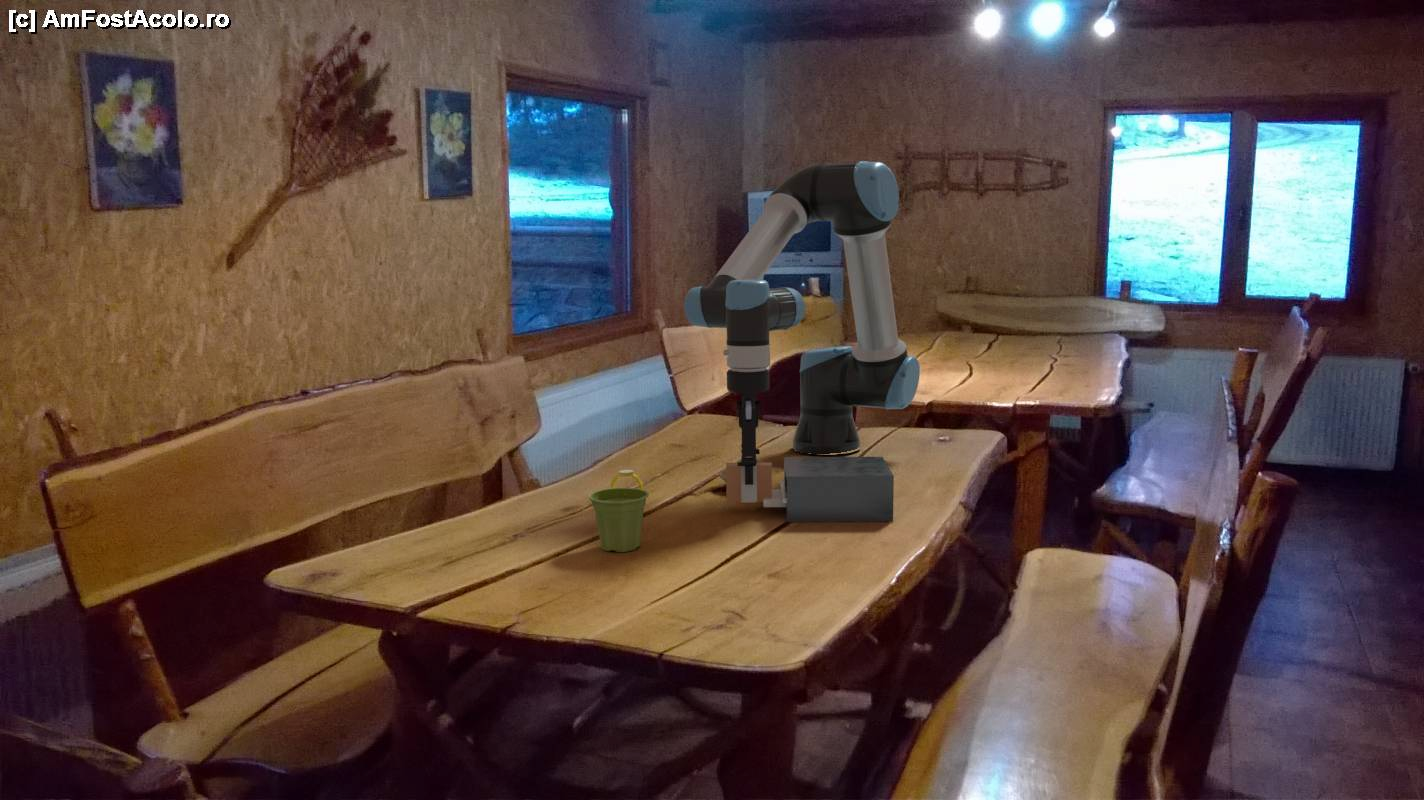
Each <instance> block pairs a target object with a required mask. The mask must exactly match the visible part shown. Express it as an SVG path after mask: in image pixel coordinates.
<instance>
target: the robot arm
mask: <svg viewBox="0 0 1424 800" xmlns="http://www.w3.org/2000/svg"><path fill="white" fill-rule="evenodd" d="M899 202H900V192H899V186H898V183H897V180H896V177H895V175H894V173H893V171H892V170H891V169H890V168H889V167H888V166H887V165H886V164H884V163H883V162H879V161H867V160H861V161H848V162H833V163H815V164H811V165H807V166H806V167H803V168H801V169H799V170H797V171H796V172H794V173H793V174H791V175H790V176H788V177H787V178H785V179H784V180H783V181H782V182H781V183H780V184H779V185H778V186H777V187H775V189H774V190H772V192H771V193H770V195H769V196H768V197H767V198H766V200H765V201H764V203H763V212H762V214H760V216H759V217H758V219H756V221H755V223H754V224H753V225H752V227H751V228H750V229H749V231H747V233H746V235H745V236H744V237H743V239H742V240H741V241H740V242H739V244H738V245H737V246H736V248H735V249H734V251H733V252H732V254H730V256H729V257H728V259H727V260H726V262H724V264H723V265H722V266H721V268H720V270H718V272H717V274H716V275H715V276H714V277H713V279H712V280H711V281H710V283H709V284H708V285H707V286H704V285H700V286H694V287H693V288H692V287H691V289H689V290H688V292H686V295H685V298H684V303H683V305H684V306H683V309H684V314H685V317H686V319H687V321H688V322H689V323H690V324H691V325H693V326H695V327H701V328H702V327H704V328H709V329H712V328H713V329H715V328H716V329H717V328H718V329H721V328H722V329H726V348H727V349H723V351H722V354H723V356H727V357H726V366H727V367H728V368H729V369H728V370H727V371H726V390H727V391H728V392H730V393H733V394H741V397H740V400H737V403H736V405H737V406H736V409H737V410H736V411H737V413H738V428H740V429H741V445H740V447H741V450H740V452H741V458H740V461H741V462H740V461H737V463H738V466H741V502H740V503H758V502H757V465H756V464H757V463H758V459H757V455H760V453H761V452H760V448H757V442H756V441H757V435H756V434H757V433H756V432H757V428H758V427H759V413H760V412H761V411H760V410H761V409H760V405H761V404H760V400H759V399H758V400H757V398H756V396H755V395H756V394H757V393H766V392H768V391H769V390H770V389H771V388H770V387H771V384H770V383H771V379H770V378H771V375H770V371H769V369H767V368H768V367H769V366H771V347H770V346H771V344H770V332H774V331H778V330H779V331H781V330H783V331H786V330H788V329H791V328H794V327H796V326H797V325H799V324H800V323H801V322H802V320H803V319H804V316H805V314H806V303H805V300H804V297H803V296H802V294H801V293H800V292H799V291H798V290H796V289H794V288H792V287H785V286H784V287H782V286H781V287H780V286H779V287H776V288H775V287H774V288H773V287H772V288H771V287H770V285H769V282H768V281H767V280H765V279H763V277H764V276H765V275H766V273H767V272H768V271H769V269H770V268H771V266H772V265H773V264H774V262H775V261H776V259H777V258H778V257H779V255H780V254H781V253H782V251H783V249H784V248H785V247H786V245H788V243H789V241H790V240H791V238H792V237H793V235H795V234H799V233H800V232H802V231H803V230H804V229H805V227H806V226H807V225H808V224H810V223H813V222H832V225H833V230H834V231H833V232H834V234H835V235H836V236H837V237H839V238H840V239H842V243H843V249H844V256H845V263H846V268H847V278H848V283H849V291H850V297H851V299H850V300H851V305H852V311H853V318H854V319H853V320H854V325H855V333H856V339H857V345H856V346H855V347H853V346H851V345H843V346H842V345H841V346H830V347H823V348H815V349H810V350H806V351H805V352H803V353H802V355H801V357H800V367H799V368H800V369H799V373H800V374H799V377H800V379H799V381H800V385H799V389H800V392H799V393H800V414H799V415H800V416H799V420H798V423H797V427H796V429H795V432H794V436H793V438H792V450H793V449H794V450H796V451H798V452H797V453H799V452H802V453H801V454H803V453H811V454H830V453H841V452H847V451H851V450H855V449H857V448H858V447H860V448H861V438H860V435H859V433H858V429H857V426H856V423H855V421H854V417H853V416H854V415H853V407H863V408H864V407H865V408H874V409H885V410H888V411H889V410H891V409H892V410H903V409H905V408H907V407H908V406H909V405H911V403H912V402H913V400H914V398H915V396H916V393H917V390H918V387H919V382H920V375H921V374H920V373H921V371H920V370H921V368H920V362H919V360H918V358H917V357H916V356H914V355H908V349H907V344H906V343H905V342H904V341H903V340H901V339H900V338H899V336H898V335H899V334H898V327H897V320H896V314H895V305H894V304H895V303H894V295H893V288H892V280H891V274H890V273H891V271H890V265H889V257H888V249H887V248H888V247H887V239H886V233H887V231H888V229H889V228H890V227H891V225H892V220H893V219H894V218H895V217H896V215H897V213H898V212H899ZM794 450H793V451H794ZM796 451H795V452H796Z"/></svg>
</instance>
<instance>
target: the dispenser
mask: <svg viewBox="0 0 1424 800" xmlns="http://www.w3.org/2000/svg"><path fill="white" fill-rule="evenodd" d="M783 461H784V462H783V468H784V469H783V471H784V472H783V475H784V476H783V480H779V487H780V488H779V489H781V496H782V503H787V507H784V508H785V515H786V521H787V523H861V522H862V523H885V522H884V521H893V522H894V496H895V495H894V491H895V490H894V487H895V486H894V484H895V483H894V482H895V480H894V478H895V476H894V474H893V472H892V471H891V468H890V467H889V466H888V465H889V464H887V462H886V460H885V459H884V457H883V456H817V457H816V456H814V457H813V456H812V457H811V456H801V457H800V456H798V457H797V456H795V457H794V456H792V457H786V456H785V457H783ZM786 489H787V494H786ZM880 521H881V522H880Z"/></svg>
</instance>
